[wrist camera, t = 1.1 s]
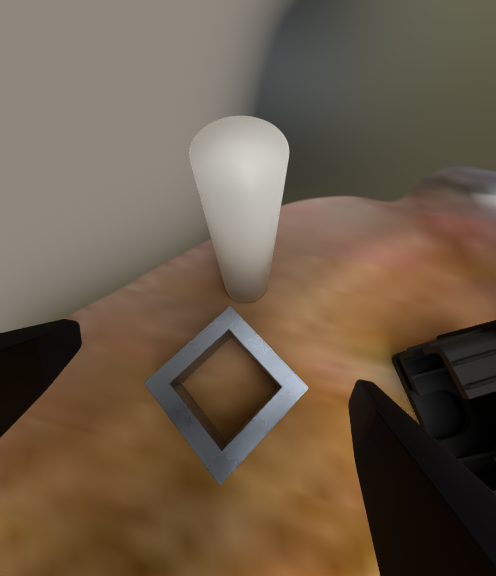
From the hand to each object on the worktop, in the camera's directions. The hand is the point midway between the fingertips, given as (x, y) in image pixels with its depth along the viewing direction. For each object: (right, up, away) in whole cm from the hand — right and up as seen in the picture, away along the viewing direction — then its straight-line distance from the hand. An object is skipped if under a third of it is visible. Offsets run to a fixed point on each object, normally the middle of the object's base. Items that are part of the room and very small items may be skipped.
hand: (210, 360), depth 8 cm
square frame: (0, -5, +12) cm, 13 cm away
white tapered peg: (+1, +3, +15) cm, 16 cm away
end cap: (+17, -7, +12) cm, 22 cm away
